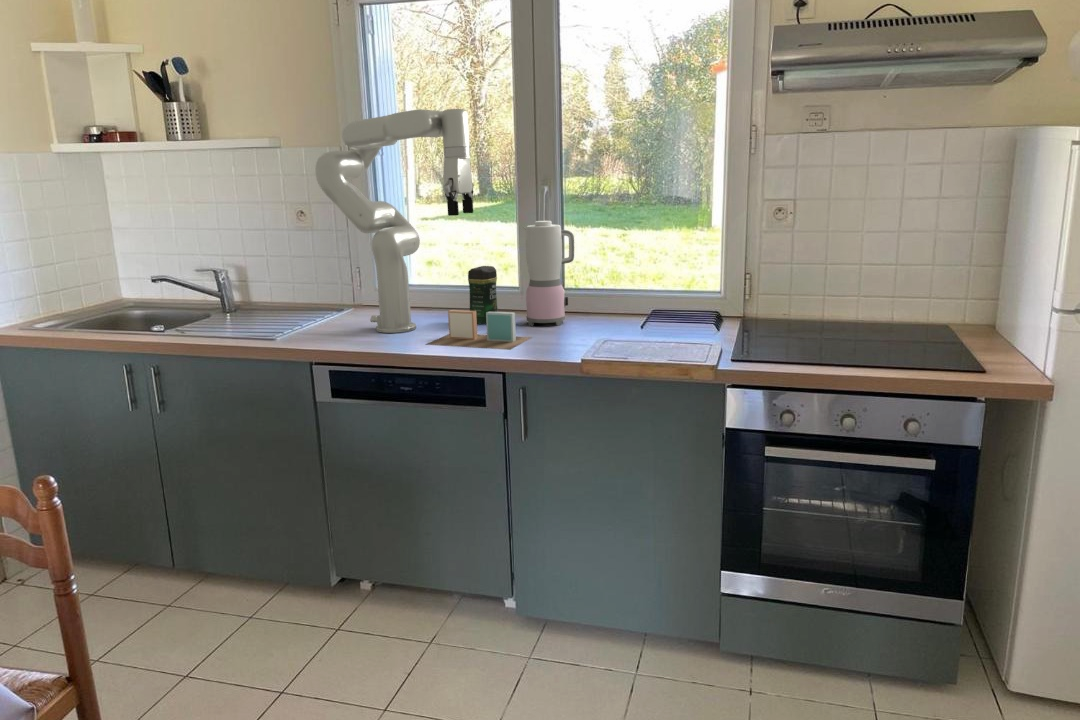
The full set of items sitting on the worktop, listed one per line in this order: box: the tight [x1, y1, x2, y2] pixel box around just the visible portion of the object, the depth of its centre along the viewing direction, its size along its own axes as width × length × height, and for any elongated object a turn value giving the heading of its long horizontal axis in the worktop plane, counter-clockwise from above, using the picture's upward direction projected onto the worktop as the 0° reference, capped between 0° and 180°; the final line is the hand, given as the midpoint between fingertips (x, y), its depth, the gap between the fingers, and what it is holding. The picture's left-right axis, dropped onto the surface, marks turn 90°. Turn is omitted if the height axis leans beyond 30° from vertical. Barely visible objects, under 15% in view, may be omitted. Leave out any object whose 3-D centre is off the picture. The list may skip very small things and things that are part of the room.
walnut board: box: [425, 333, 533, 350], centre depth 232 cm, size 26×16×1 cm, turn 69°
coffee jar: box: [467, 265, 499, 326], centre depth 258 cm, size 10×8×19 cm
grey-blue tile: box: [486, 311, 517, 342], centre depth 230 cm, size 8×2×8 cm, turn 69°
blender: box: [522, 220, 575, 326], centre depth 256 cm, size 16×12×32 cm
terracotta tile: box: [447, 309, 478, 340], centre depth 235 cm, size 8×2×8 cm, turn 69°
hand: (461, 214), depth 238 cm, fingers open, 9 cm apart
